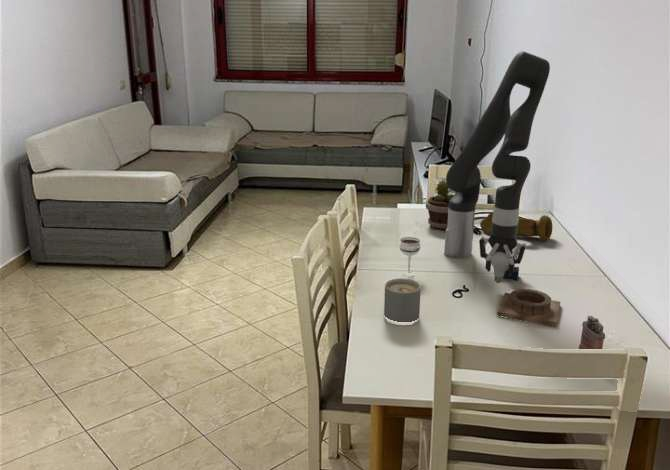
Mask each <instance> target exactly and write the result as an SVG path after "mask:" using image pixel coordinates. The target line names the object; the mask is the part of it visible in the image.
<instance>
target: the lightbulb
mask: <svg viewBox="0 0 670 470" xmlns="http://www.w3.org/2000/svg"><path fill="white" fill-rule="evenodd" d="M490 260H491V267H492V268H493V275H494V277H493V278H494V279H493V281H494V283H496V284H501V283H503V281H504V279H503V276H504V274H505V271H506V269H507V267H508V266H509V264H510V261H509V258H508V257H507V254H505V253H503V252H495V253H494V254H493V256H492V257H491V259H490Z"/></svg>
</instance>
